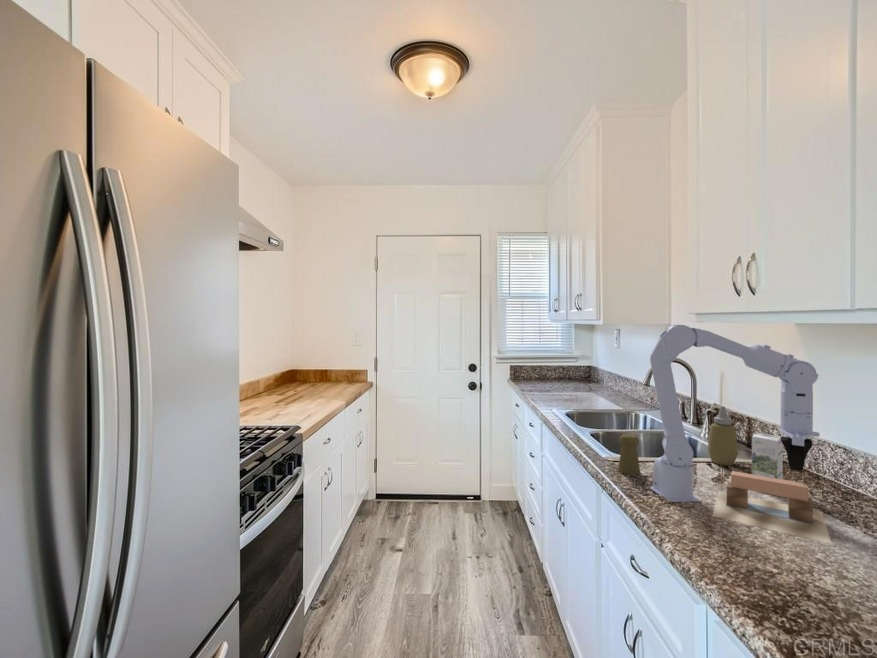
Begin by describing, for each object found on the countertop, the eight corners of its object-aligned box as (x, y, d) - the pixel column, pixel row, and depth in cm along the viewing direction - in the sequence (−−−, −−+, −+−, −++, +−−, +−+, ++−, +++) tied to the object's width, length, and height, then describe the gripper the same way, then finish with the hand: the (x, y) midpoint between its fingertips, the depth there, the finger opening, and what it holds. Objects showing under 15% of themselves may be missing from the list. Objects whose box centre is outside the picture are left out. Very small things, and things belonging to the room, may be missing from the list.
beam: (731, 486, 102) (731, 474, 102) (731, 482, 104) (732, 470, 104) (808, 501, 93) (808, 488, 93) (807, 497, 96) (807, 483, 96)
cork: (615, 467, 130) (615, 432, 130) (635, 468, 130) (635, 432, 130) (622, 474, 124) (622, 437, 124) (643, 475, 124) (643, 437, 124)
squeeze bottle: (701, 459, 138) (701, 404, 137) (722, 458, 139) (723, 403, 139) (722, 468, 130) (722, 409, 130) (744, 466, 131) (745, 408, 131)
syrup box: (783, 490, 112) (783, 435, 112) (777, 496, 109) (778, 439, 109) (757, 484, 117) (757, 431, 117) (750, 489, 113) (751, 435, 113)
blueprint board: (712, 518, 96) (712, 496, 96) (718, 493, 110) (719, 474, 110) (831, 546, 84) (832, 521, 84) (821, 514, 98) (822, 492, 98)
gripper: (823, 419, 90) (822, 482, 90) (816, 408, 101) (815, 464, 101) (780, 415, 94) (779, 475, 94) (778, 405, 106) (778, 459, 106)
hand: (795, 469), depth 98 cm, fingers closed
